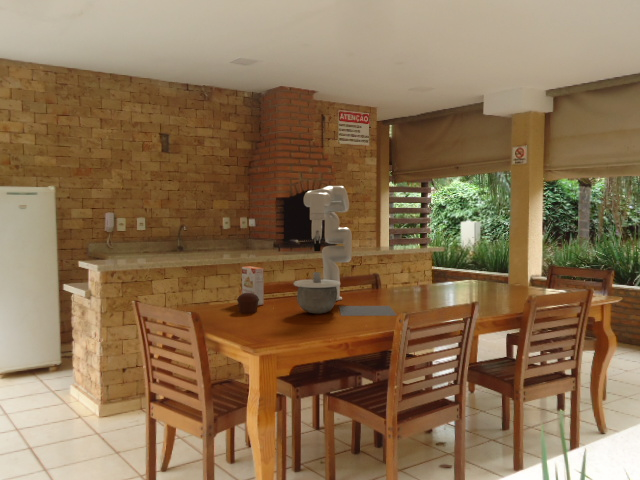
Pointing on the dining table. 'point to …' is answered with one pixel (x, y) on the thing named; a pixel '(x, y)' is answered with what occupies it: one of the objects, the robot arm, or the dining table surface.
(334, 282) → the lid
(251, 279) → the cracker box
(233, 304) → the dining table surface
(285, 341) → the dining table surface
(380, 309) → the mat
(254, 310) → the muffin
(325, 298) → the bowl
